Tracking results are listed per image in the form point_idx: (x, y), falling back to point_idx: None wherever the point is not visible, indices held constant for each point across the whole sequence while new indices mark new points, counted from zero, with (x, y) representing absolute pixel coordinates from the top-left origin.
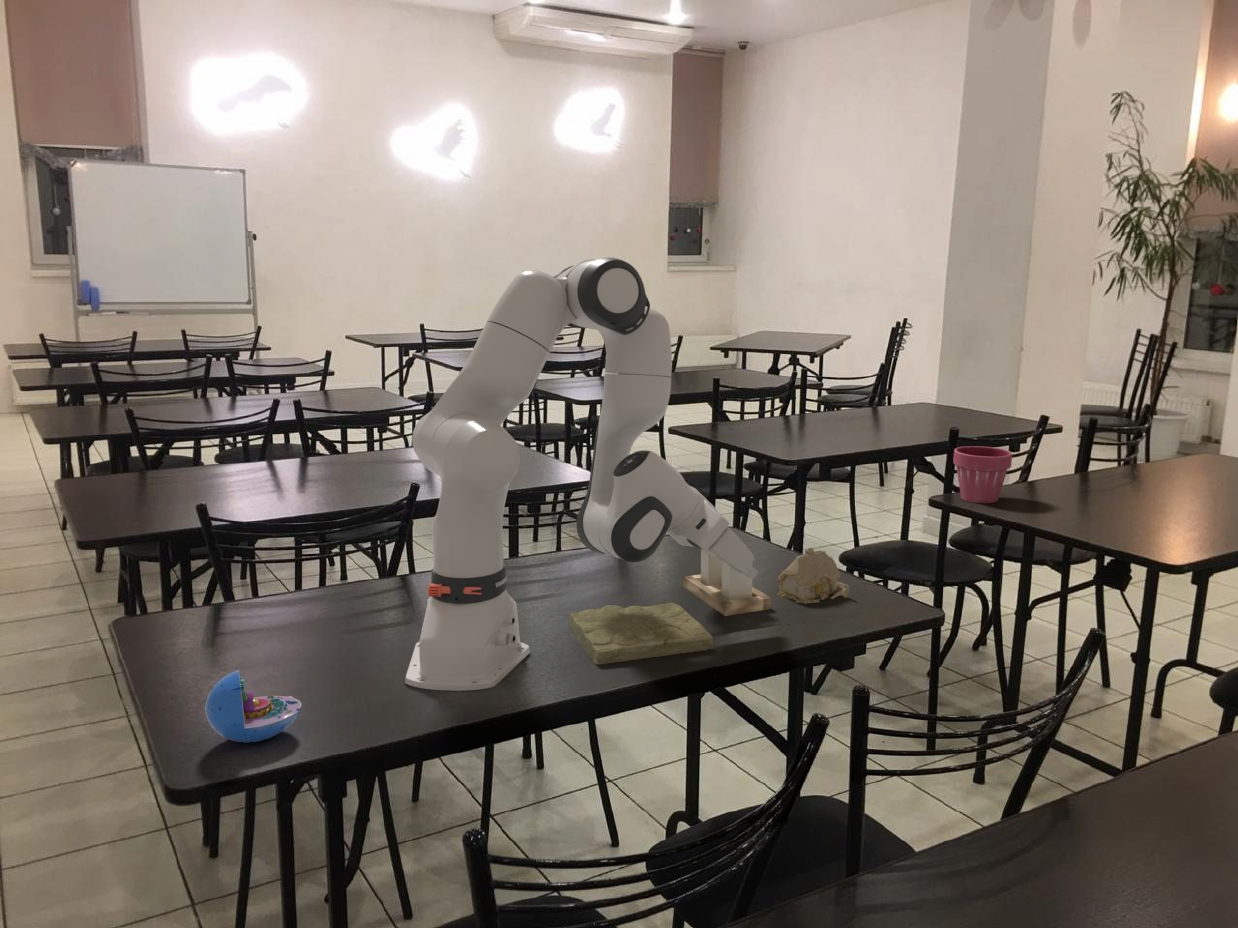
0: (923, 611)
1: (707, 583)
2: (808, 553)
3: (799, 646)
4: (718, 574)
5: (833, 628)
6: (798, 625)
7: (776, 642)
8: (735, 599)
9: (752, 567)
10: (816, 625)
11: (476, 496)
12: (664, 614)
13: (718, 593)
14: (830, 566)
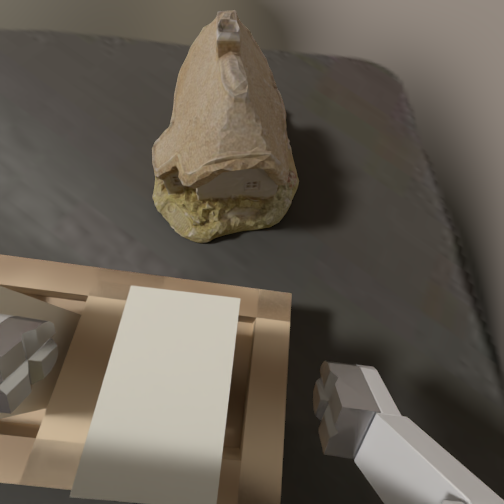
0: (372, 71)
1: (13, 414)
2: (234, 49)
3: (491, 374)
4: None
5: (401, 232)
6: (359, 284)
7: (454, 415)
8: (246, 422)
9: (394, 411)
10: (373, 250)
11: None
12: None
13: None
14: (258, 58)
